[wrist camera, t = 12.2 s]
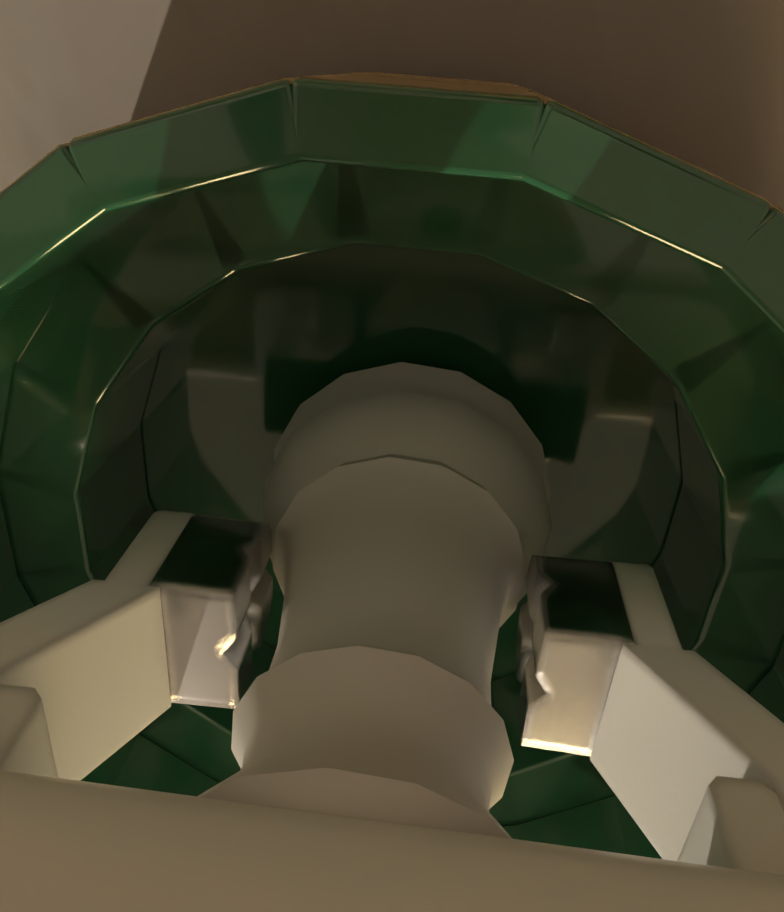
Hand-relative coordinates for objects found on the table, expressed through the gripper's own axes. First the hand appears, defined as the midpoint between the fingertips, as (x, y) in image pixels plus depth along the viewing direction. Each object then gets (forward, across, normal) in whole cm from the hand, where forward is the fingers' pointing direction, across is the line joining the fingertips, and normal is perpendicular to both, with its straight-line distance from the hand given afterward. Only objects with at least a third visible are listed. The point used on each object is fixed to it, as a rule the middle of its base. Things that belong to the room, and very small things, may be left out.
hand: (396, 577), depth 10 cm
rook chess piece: (+3, 0, 0) cm, 3 cm away
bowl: (+3, 0, 0) cm, 3 cm away
